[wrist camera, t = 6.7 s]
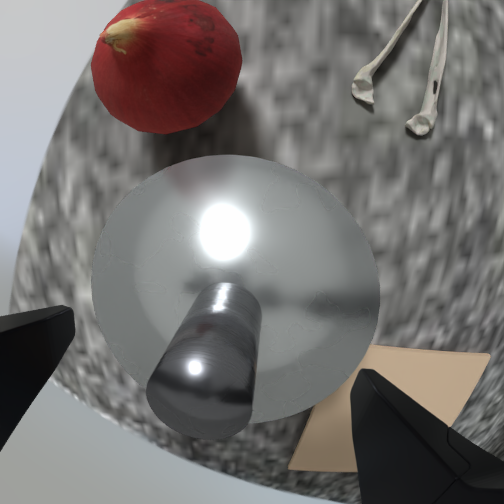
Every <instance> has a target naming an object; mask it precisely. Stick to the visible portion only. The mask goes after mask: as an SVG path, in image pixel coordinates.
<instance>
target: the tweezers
mask: <svg viewBox="0 0 504 504" xmlns="http://www.w3.org/2000/svg"><path fill="white" fill-rule="evenodd" d="M421 2H422V0H418V1H417V2H416V4H415V5H414V7H413V8H412V9H411V11H410V12H409V14H408V15H407V17H406V18H405V20H404V22H403V23H402V24H401V26H400V27H399V29H398V30H397V31H396V32H395V34H394V36H393V37H392V39H391V40H390V42H389V43H388V45H387V46H386V47H385V48H384V50H383V51H382V52H381V53H380V54H379V56H378V57H377V58H376V59H375V60H374V61H373V62H371V63H370V64H368V65H366V66H364V67H362V68H361V70H360V71H359V72H358V73H357V75H356V77H355V78H354V79H353V80H354V82H353V84H352V94H353V95H354V97H355V98H357V99H360V100H362V101H365V102H366V103H367V104H374V100H373V84H372V76H373V74H374V73H375V71H376V70H377V69H378V67H379V66H380V65H381V63H382V62H383V60H384V59H385V58H386V57H387V55H388V54H389V53H390V52H391V51H392V49H393V47H394V46H395V44H396V42H397V40H398V39H399V37H400V35H401V34H402V32H403V31H404V30H405V28H406V27H407V25H408V24H409V22H410V20H411V17H412V14H413V13H414V12H415V10H416V9H417V8H418V6H419V4H420V3H421ZM447 33H448V0H443V6H442V17H441V23H440V29H439V32H438V34H437V37H436V41H435V46H434V52H433V57H432V62H431V66H430V70H429V76H428V84H427V88H426V92H425V97H424V101H423V105H422V109H421V112H420V114H417V115H415V116H414V117H413V118H412V119H411V120H409V121H407V122H406V125H405V127H407V128H409V129H410V130H411V131H413V132H414V133H415V134H417V135H421V136H423V135H424V134H426V133H428V132H429V129H433V127H434V123H435V120H436V117H437V100H438V95H439V90H440V84H441V80H442V75H443V71H444V66H445V61H446V52H447ZM434 81H436V82H437V91H436V94H435V95H434V94H433V87H434Z"/></svg>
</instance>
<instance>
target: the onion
mask: <svg viewBox="0 0 504 504" xmlns="http://www.w3.org/2000/svg"><path fill="white" fill-rule="evenodd" d="M241 66H242V55H241V50H240V44H239V38H238V35H237V33H236V32H235V30H234V29H233V27H232V26H231V25H230V24H229V22H228V21H227V20H226V19H225V18H224V17H223V15H222V14H221V13H220V12H219V11H218V9H217V8H216V7H213V6H211V5H209V4H207V3H204V2H202V1H199V0H144V1H141V2H138V3H136V4H134V5H132V6H130V7H127V8H125V9H123V10H122V11H121V12H119V13H118V14H117V15H116V16H115V17H114V18H113V19H112V20H111V21H110V22H109V23H108V24H107V26H106V28H105V29H104V31H103V32H102V33H101V34H100V37H99V39H98V41H97V44H96V48H95V52H94V55H93V59H92V62H91V70H92V76H93V81H94V87H95V91H96V93H97V95H98V97H99V98H100V100H101V101H102V103H103V104H104V106H105V107H106V108H107V110H108V111H109V113H110V114H111V115H112V116H114V117H115V118H117V119H118V120H120V121H122V122H123V123H125V124H127V125H129V126H130V127H132V128H134V129H136V130H137V131H142V132H151V133H159V134H169V133H173V132H177V131H181V130H185V129H189V128H193V127H197V126H199V125H200V124H202V123H203V122H204V121H206V120H207V119H209V118H210V117H211V116H213V115H214V114H216V113H217V112H219V111H220V110H221V109H222V107H223V106H224V104H225V103H226V102H227V100H228V99H229V98H230V96H231V95H232V94H233V92H234V91H235V88H236V85H237V81H238V77H239V74H240V70H241Z"/></svg>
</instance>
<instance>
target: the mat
mask: <svg viewBox="0 0 504 504" xmlns="http://www.w3.org/2000/svg"><path fill="white" fill-rule="evenodd" d="M490 357H491V356H490V355H489V354H488V353H466V352H449V351H434V350H421V349H410V348H399V347H389V346H380V345H371V344H370V345H369V348H368V350H367V352H366V354H365V356H364V357H363V359H362V361H361V362H360V364H359V365H358V367H357V368H356V370H355V371H354V372H353V373H352V374H351V376H350V377H349V378H348V379H347V380H346V381H345V382H344V383H343V384H342V385H341V386H340V387H339V388H338V389H337V390H336V391H335V392H333V393H332V394H331V395H329V396H328V397H327V398H325V399H324V400H322V401H321V402H319V403H317V404H316V405H314V406H313V409H312V411H311V414H310V416H309V419H308V421H307V423H306V426H305V428H304V431H303V433H302V435H301V438H300V440H299V442H298V445H297V447H296V449H295V451H294V454H293V456H292V458H291V460H290V462H289V465H288V469H289V470H302V471H321V472H358V471H357V464H356V458H355V452H354V446H353V439H352V425H351V405H350V392H351V388H352V386H353V384H354V381H355V379H356V377H357V374H358V372H359V370H360V369H362V368H367V369H374V370H375V371H377V372H378V373H379V374H381V375H382V376H383V377H385V378H386V379H387V380H388V381H390V382H391V383H392V384H394V385H395V386H396V387H398V388H399V389H400V390H402V391H403V392H404V393H406V394H407V395H408V396H409V397H411V398H412V399H413V400H415V401H416V402H417V403H419V404H420V405H421V406H423V407H424V408H425V409H427V410H428V411H429V412H431V413H432V414H433V415H435V416H436V417H437V418H439V419H440V420H442V421H443V422H444V423H446V424H447V425H448V427H451V425H452V424H453V422H454V421H455V419H456V418H457V416H458V415H459V413H460V411H461V410H462V408H463V407H464V405H465V403H466V402H467V400H468V398H469V397H470V395H471V393H472V391H473V390H474V388H475V386H476V384H477V382H478V381H479V379H480V377H481V375H482V373H483V371H484V369H485V367H486V365H487V363H488V361H489V359H490Z"/></svg>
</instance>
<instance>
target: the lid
mask: <svg viewBox="0 0 504 504" xmlns="http://www.w3.org/2000/svg"><path fill="white" fill-rule="evenodd" d="M91 288H92V300H93V305H94V310H95V314H96V318H97V321H98V324H99V327H100V330H101V332H102V334H103V336H104V338H105V340H106V343H107V345H108V347H109V348H110V350H111V351H112V353H113V354H114V356H115V358H116V359H117V361H118V362H119V363H120V364H121V366H122V367H123V368H124V369H125V370H126V372H127V373H128V374H129V375H130V376H131V377H132V378H133V379H134V380H135V381H136V382H137V383H138V384H139V385H141V386H142V387H143V388H144V389H146V395H147V400H148V403H149V405H150V407H151V409H152V410H153V412H154V413H155V414H156V416H157V417H158V418H159V419H160V420H161V421H162V422H163V423H165V424H166V425H167V426H169V427H170V428H172V429H174V430H175V431H177V432H179V433H181V434H184V435H187V436H190V437H194V438H199V439H207V440H214V439H222V438H227V437H230V436H232V435H235V434H237V433H238V432H240V431H241V430H242V429H244V428H245V427H246V425H247V424H248V423H261V422H267V421H273V420H278V419H281V418H285V417H288V416H292V415H294V414H297V413H299V412H302V411H304V410H306V409H308V408H310V407H312V406H314V405H316V404H317V403H319V402H321V401H322V400H324V399H325V398H327V397H328V396H329V395H331V394H332V393H333V392H335V391H336V390H337V389H338V388H339V387H340V386H341V385H342V384H343V383H344V382H345V381H346V380H347V379H348V378H349V377H350V376H351V374H352V373H353V372H354V371H355V370H356V368H357V367H358V365H359V364H360V362H361V361H362V359H363V357H364V356H365V354H366V352H367V350H368V348H369V345H370V343H371V341H372V339H373V335H374V332H375V329H376V325H377V321H378V314H379V307H380V284H379V278H378V272H377V266H376V263H375V260H374V257H373V253H372V250H371V248H370V245H369V243H368V241H367V239H366V237H365V235H364V233H363V231H362V229H361V228H360V226H359V225H358V224H357V222H356V221H355V219H354V218H353V216H352V215H351V214H350V212H349V211H348V210H347V209H346V208H345V207H344V206H343V205H342V204H341V202H340V201H339V200H338V199H337V198H336V197H335V196H334V195H332V194H331V193H330V192H329V191H327V190H326V189H325V188H324V187H322V186H321V185H320V184H319V183H317V182H316V181H314V180H312V179H311V178H309V177H307V176H305V175H304V174H302V173H300V172H299V171H297V170H294V169H292V168H289V167H287V166H284V165H282V164H279V163H277V162H273V161H269V160H265V159H261V158H257V157H251V156H241V155H212V156H204V157H199V158H194V159H189V160H186V161H183V162H180V163H177V164H174V165H172V166H169V167H166V168H165V169H163V170H161V171H159V172H157V173H155V174H153V175H152V176H150V177H148V178H147V179H146V180H144V181H143V182H142V183H140V184H139V185H138V186H136V187H135V188H134V189H133V190H132V191H131V192H130V193H129V194H128V195H127V196H126V197H125V198H124V199H123V200H122V201H121V202H120V203H119V204H118V206H117V207H116V209H115V210H114V211H113V213H112V214H111V215H110V217H109V219H108V221H107V222H106V224H105V226H104V228H103V230H102V232H101V235H100V237H99V240H98V243H97V246H96V249H95V254H94V259H93V264H92V276H91Z"/></svg>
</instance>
